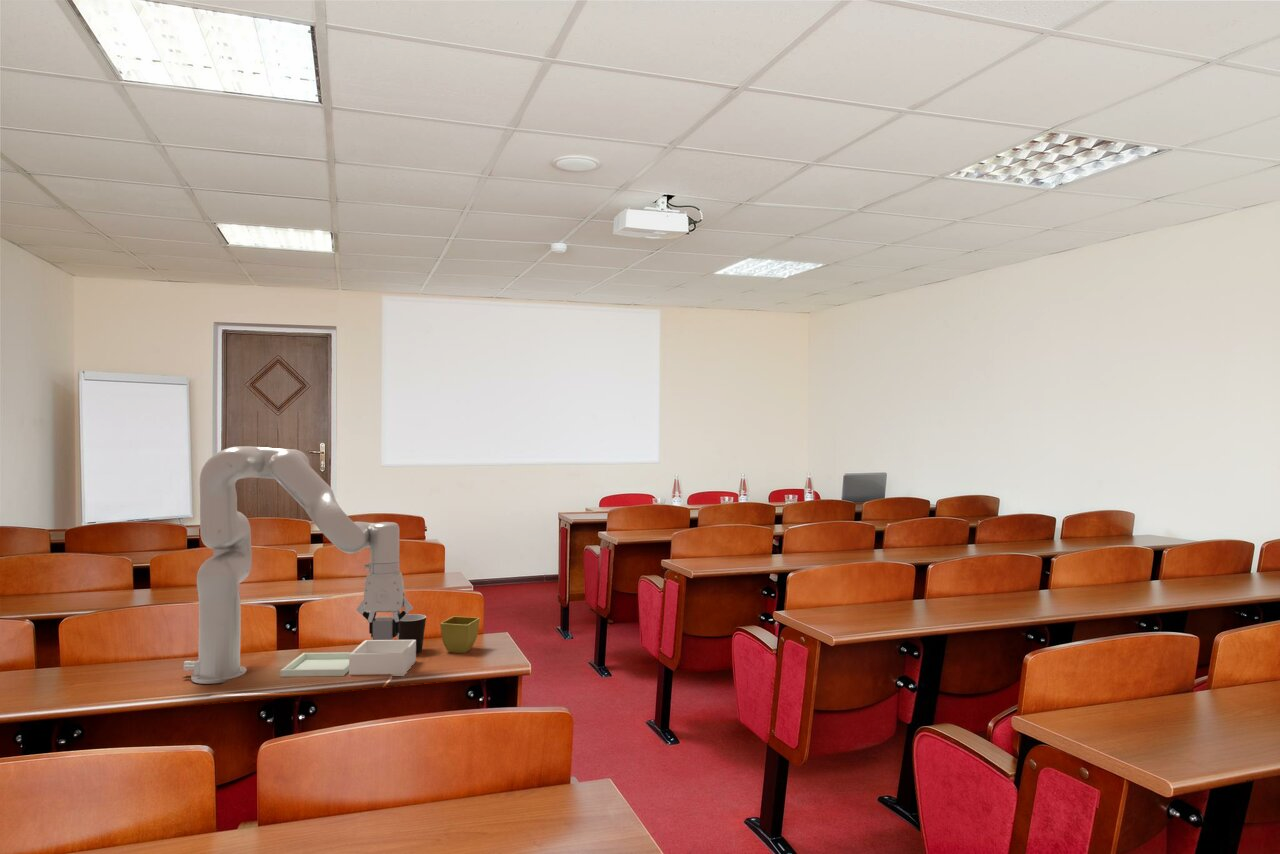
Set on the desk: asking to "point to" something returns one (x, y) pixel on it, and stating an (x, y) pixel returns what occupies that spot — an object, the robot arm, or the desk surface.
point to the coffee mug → (413, 629)
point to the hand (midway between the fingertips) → (384, 635)
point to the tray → (317, 665)
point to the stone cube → (383, 628)
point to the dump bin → (383, 657)
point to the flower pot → (459, 633)
